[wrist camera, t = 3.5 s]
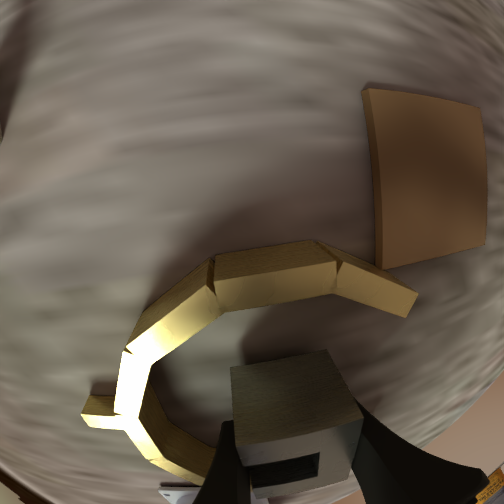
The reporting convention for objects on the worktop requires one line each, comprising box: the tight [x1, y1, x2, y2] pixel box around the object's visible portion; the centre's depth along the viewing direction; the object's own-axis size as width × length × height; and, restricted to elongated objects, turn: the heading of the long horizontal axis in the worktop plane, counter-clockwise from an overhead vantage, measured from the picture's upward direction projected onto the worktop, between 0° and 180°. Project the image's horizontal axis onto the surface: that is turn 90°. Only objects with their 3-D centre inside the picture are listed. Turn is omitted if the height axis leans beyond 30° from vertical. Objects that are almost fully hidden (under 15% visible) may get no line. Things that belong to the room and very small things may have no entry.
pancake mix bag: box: [476, 467, 504, 504], centre depth 32 cm, size 7×19×28 cm, turn 131°
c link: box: [230, 349, 364, 499], centre depth 10 cm, size 5×4×4 cm
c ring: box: [81, 240, 419, 492], centre depth 11 cm, size 14×15×2 cm
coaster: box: [361, 88, 487, 270], centre depth 10 cm, size 7×7×1 cm
